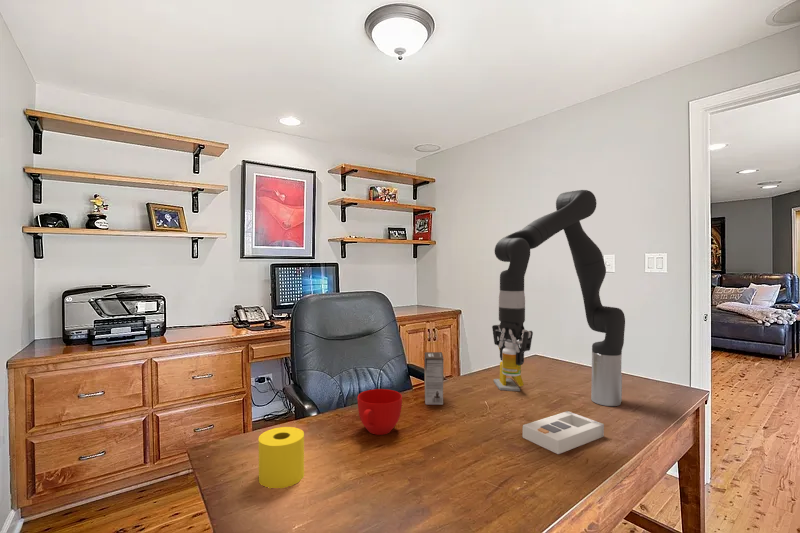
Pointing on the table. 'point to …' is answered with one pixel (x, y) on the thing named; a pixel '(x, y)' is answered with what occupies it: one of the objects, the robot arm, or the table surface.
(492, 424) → the table surface
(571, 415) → the white bottle holder
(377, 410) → the ceramic cup
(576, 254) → the robot arm
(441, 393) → the coffee box
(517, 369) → the supplement bottle
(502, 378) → the yellow framed monitor
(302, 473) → the yellow toilet paper roll
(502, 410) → the table surface
